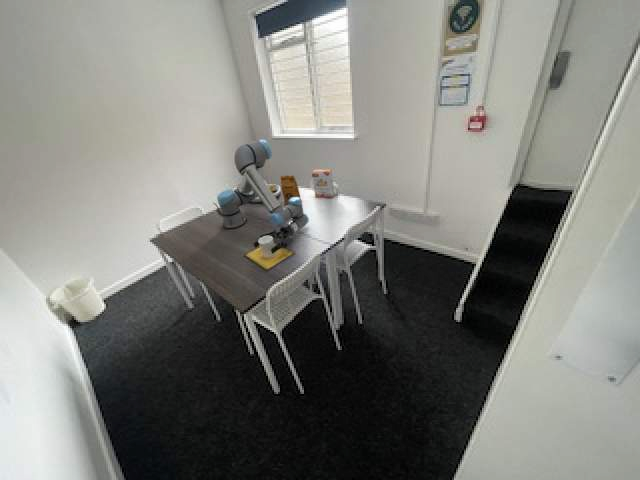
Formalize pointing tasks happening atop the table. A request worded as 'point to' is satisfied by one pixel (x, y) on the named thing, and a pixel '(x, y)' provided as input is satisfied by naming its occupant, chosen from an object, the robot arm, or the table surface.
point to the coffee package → (289, 188)
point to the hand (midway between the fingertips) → (262, 248)
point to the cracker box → (323, 183)
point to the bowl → (274, 189)
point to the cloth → (268, 262)
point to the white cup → (267, 246)
